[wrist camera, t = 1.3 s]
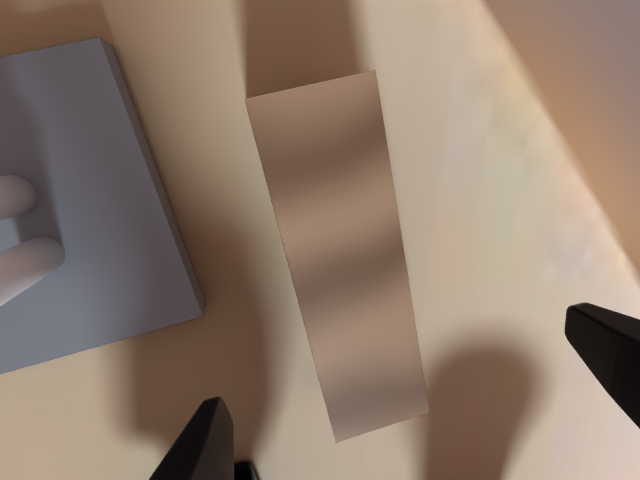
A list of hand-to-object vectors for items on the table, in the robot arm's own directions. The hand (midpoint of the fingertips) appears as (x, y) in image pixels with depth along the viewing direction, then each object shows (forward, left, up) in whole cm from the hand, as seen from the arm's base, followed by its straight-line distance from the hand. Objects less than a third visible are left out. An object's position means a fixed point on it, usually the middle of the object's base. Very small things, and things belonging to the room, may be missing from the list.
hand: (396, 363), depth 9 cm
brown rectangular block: (-1, -1, -13) cm, 13 cm away
